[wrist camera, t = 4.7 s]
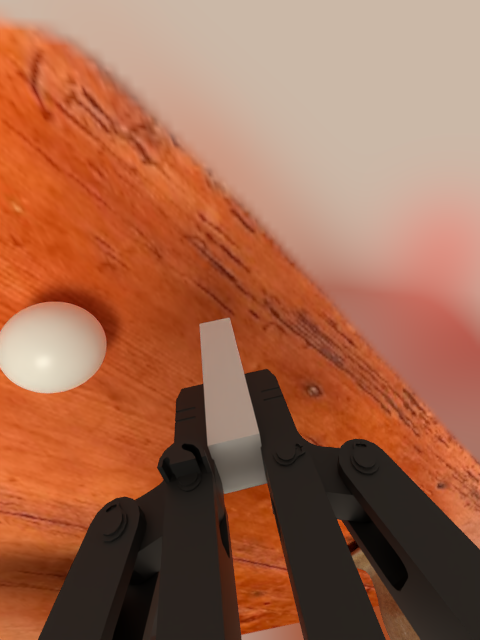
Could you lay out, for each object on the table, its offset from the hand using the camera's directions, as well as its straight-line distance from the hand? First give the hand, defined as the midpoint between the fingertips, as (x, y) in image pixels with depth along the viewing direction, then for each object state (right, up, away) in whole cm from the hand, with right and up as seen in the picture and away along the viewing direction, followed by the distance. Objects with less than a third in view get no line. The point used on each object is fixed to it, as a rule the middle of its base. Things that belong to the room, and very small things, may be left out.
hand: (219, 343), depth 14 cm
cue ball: (-10, 0, +3) cm, 11 cm away
